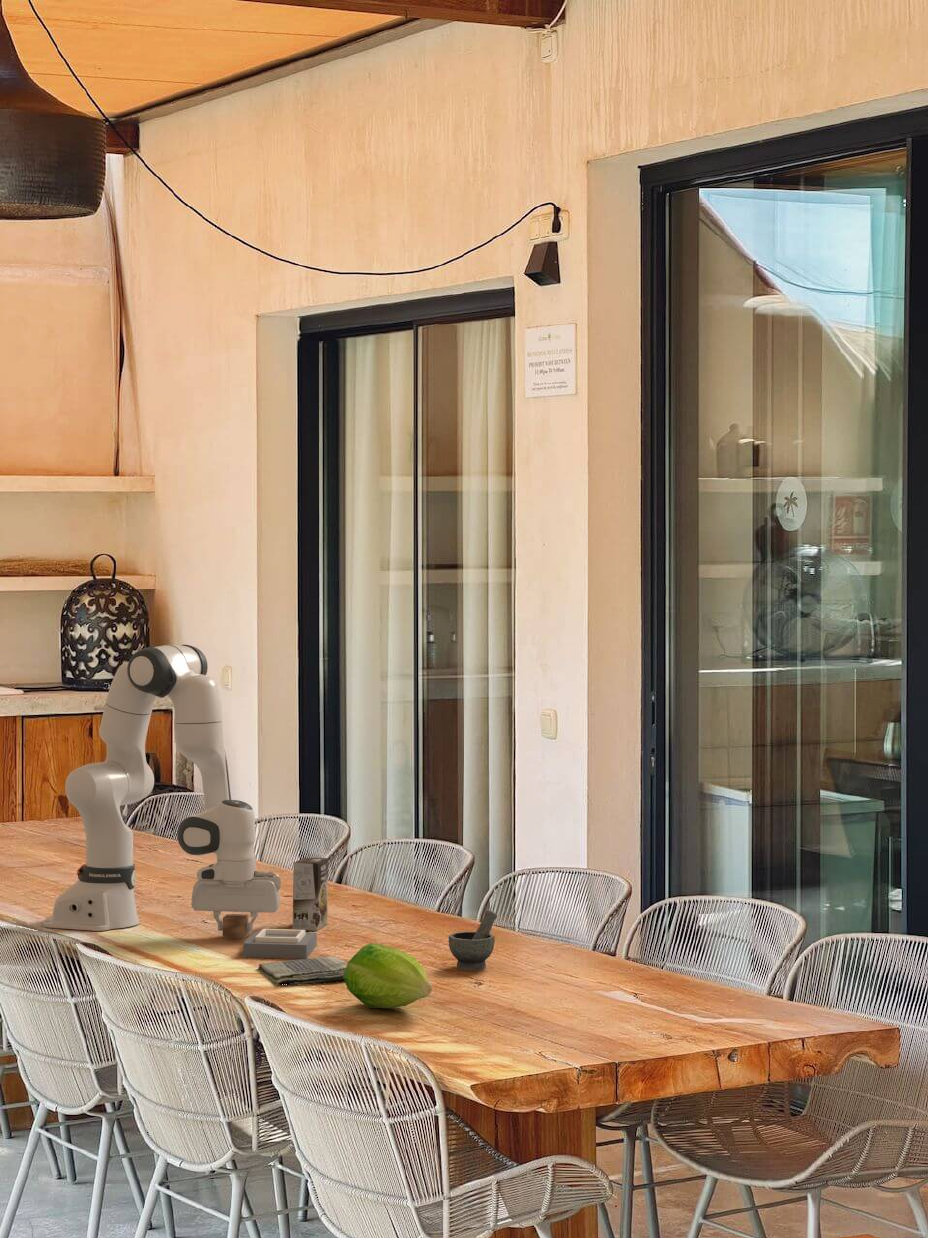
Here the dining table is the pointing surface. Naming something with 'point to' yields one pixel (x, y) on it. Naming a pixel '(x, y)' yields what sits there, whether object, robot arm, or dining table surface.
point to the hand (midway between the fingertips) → (235, 930)
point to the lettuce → (386, 977)
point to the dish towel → (305, 971)
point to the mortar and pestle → (474, 945)
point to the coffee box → (310, 893)
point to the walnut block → (235, 926)
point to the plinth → (280, 944)
